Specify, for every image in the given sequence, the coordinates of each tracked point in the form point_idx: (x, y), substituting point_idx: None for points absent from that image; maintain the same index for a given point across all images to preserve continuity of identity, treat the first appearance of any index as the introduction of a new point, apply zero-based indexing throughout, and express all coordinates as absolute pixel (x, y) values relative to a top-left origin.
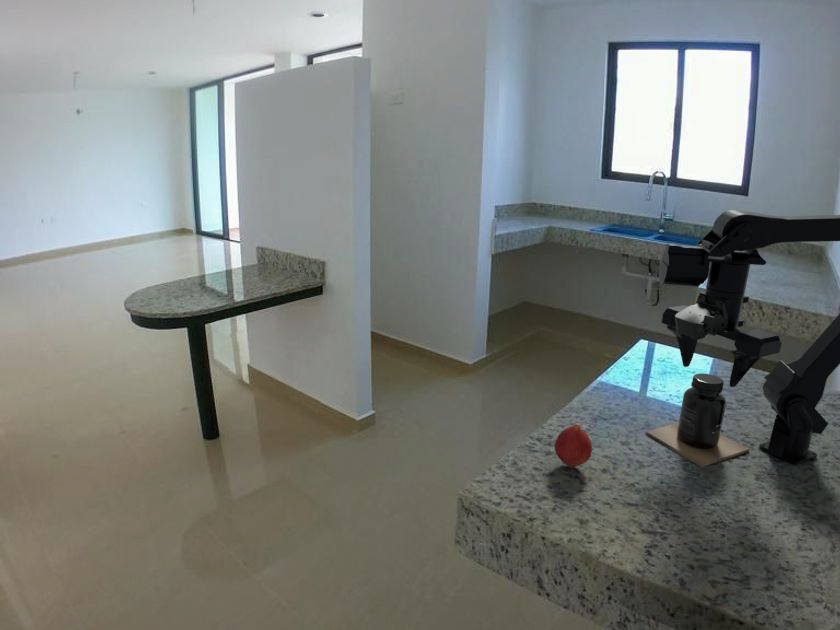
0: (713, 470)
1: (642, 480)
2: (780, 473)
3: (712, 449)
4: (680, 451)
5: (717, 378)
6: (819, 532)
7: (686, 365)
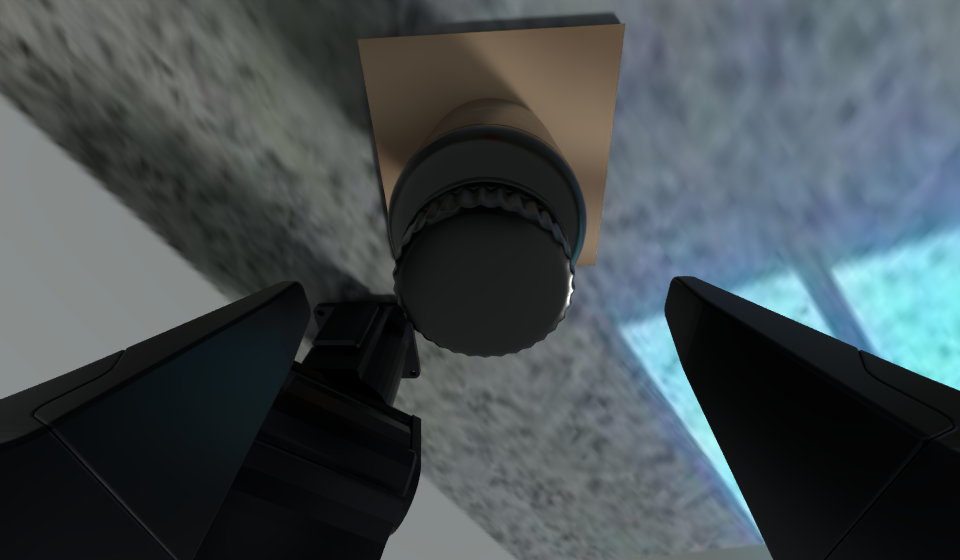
0: (335, 65)
1: None
2: (291, 244)
3: None
4: (452, 34)
5: (463, 335)
6: (18, 82)
7: (673, 292)
